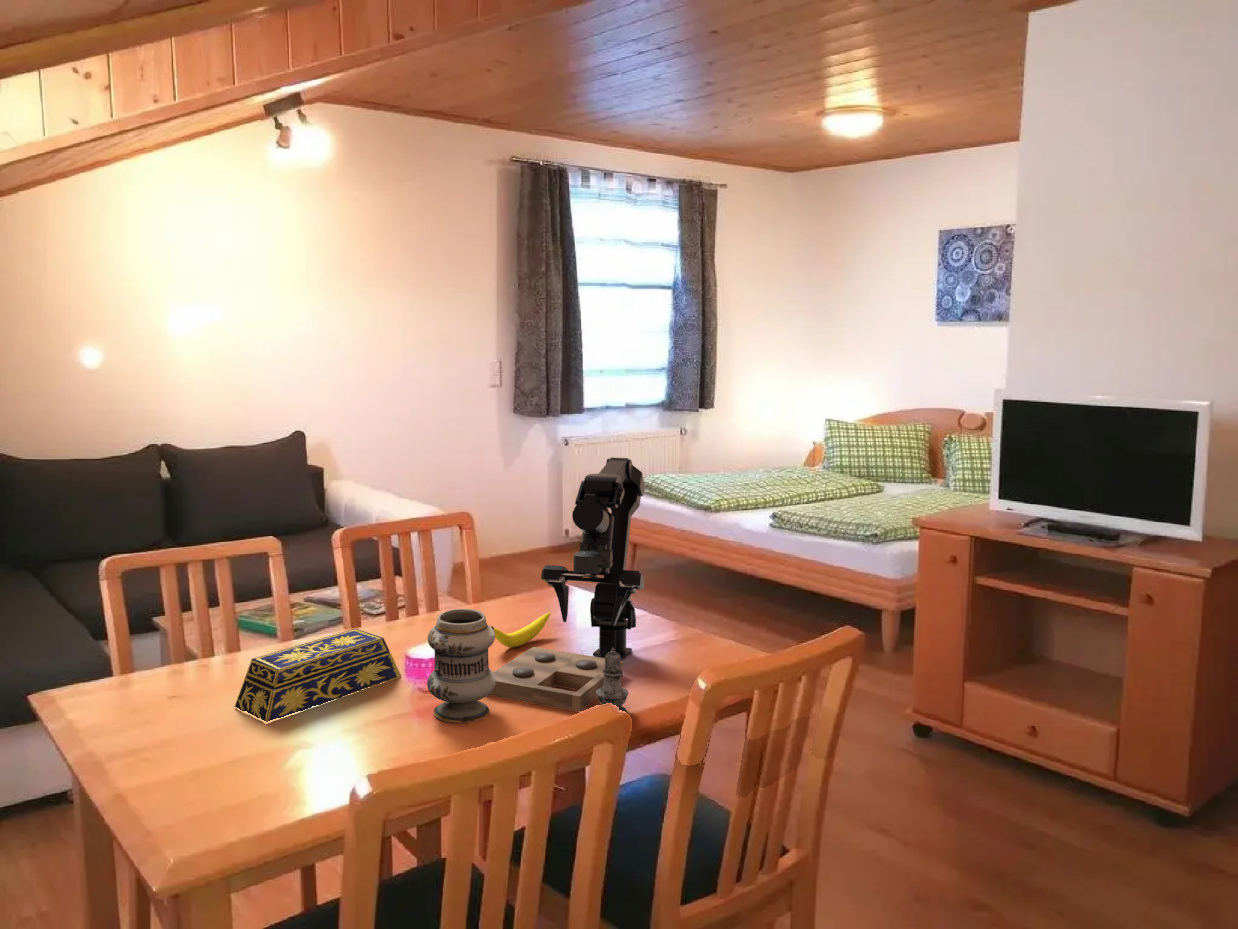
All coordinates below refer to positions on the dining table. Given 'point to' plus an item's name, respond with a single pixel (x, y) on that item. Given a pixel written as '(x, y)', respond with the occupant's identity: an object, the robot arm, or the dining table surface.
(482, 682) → the apothecary jar
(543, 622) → the banana
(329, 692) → the decorative box
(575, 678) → the brown peg board
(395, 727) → the dining table surface
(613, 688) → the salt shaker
